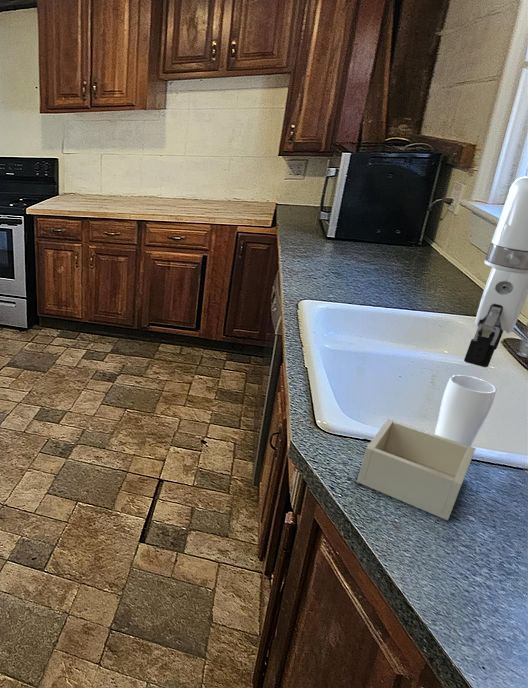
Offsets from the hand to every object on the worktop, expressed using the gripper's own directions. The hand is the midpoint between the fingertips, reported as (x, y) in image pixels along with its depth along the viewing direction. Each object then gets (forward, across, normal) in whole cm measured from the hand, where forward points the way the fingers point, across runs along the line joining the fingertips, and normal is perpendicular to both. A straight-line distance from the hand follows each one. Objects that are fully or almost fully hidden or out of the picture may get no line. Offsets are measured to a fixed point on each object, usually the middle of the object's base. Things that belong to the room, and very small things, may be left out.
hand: (480, 355), depth 90 cm
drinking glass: (+20, 0, -1) cm, 21 cm away
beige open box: (+20, -14, +2) cm, 25 cm away
